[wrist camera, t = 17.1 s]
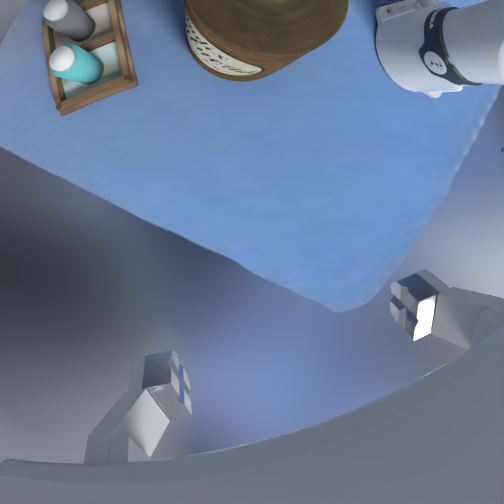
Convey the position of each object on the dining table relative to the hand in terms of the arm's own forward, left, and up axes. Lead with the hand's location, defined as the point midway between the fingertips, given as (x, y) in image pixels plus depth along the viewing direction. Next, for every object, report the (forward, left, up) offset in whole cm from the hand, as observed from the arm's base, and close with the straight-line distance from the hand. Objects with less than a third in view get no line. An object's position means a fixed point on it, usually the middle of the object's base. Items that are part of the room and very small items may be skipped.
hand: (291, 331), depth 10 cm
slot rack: (0, -26, -35) cm, 44 cm away
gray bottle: (-2, -29, -34) cm, 45 cm away
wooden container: (-16, -12, -35) cm, 41 cm away
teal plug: (+2, -23, -34) cm, 41 cm away
